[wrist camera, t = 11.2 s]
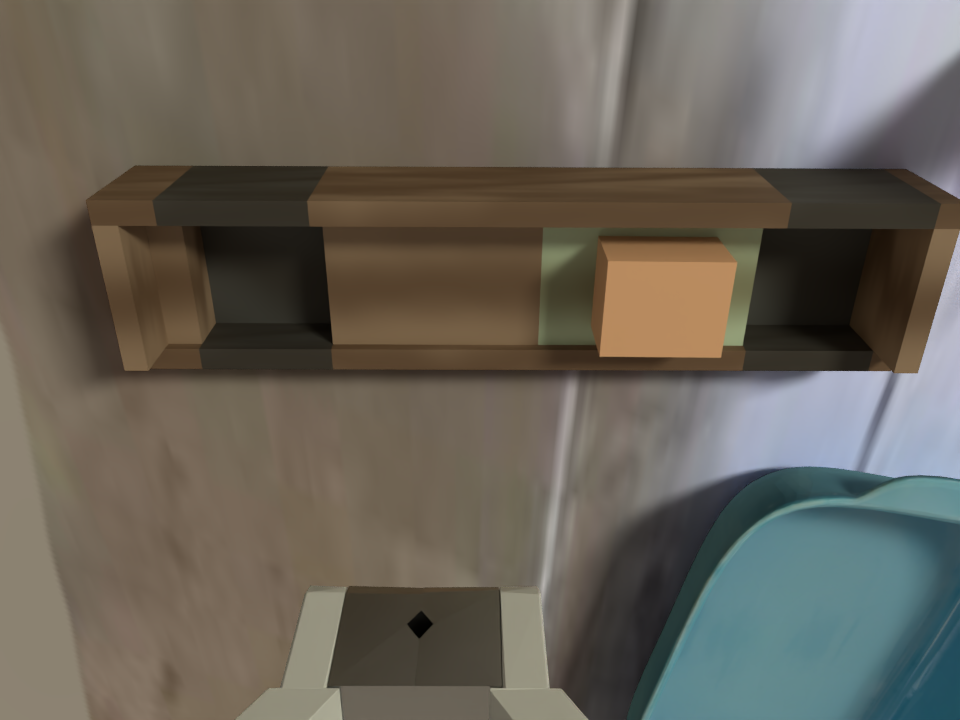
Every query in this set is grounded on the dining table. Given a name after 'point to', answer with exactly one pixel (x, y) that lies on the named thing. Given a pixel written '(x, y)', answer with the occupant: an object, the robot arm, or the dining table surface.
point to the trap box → (508, 264)
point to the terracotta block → (661, 296)
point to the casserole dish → (817, 605)
